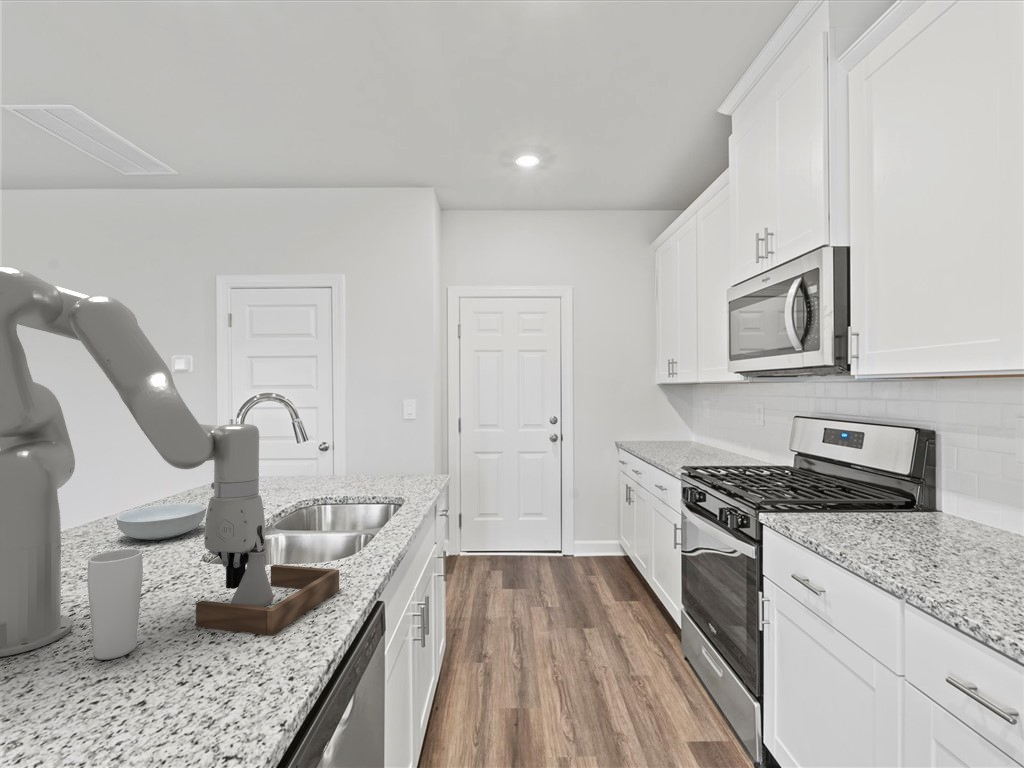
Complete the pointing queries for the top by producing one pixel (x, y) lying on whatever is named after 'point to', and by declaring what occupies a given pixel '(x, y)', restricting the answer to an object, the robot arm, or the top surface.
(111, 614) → the white tall hollow cylinder
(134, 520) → the serving bowl
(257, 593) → the flask
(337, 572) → the box
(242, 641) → the top surface
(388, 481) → the top surface
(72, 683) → the top surface
